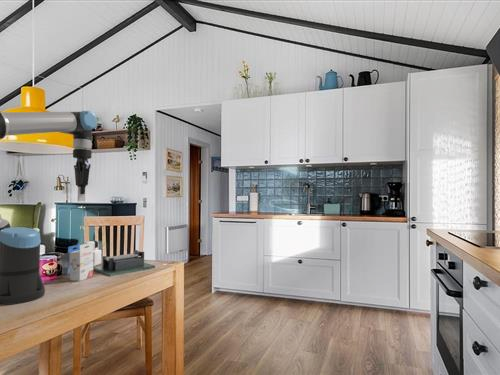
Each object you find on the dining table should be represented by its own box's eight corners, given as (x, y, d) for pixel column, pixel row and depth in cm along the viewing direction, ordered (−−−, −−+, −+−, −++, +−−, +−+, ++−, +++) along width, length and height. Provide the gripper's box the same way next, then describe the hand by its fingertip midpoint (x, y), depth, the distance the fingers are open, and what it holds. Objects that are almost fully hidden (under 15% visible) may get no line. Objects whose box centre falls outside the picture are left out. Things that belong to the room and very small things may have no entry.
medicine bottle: (87, 263, 168) (88, 240, 169) (101, 263, 168) (101, 240, 169) (80, 266, 161) (80, 241, 162) (94, 266, 161) (94, 242, 161)
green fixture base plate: (110, 276, 142) (110, 258, 142) (92, 269, 154) (93, 253, 154) (155, 268, 158) (155, 252, 158) (136, 262, 170) (136, 248, 170)
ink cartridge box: (83, 275, 142) (84, 241, 143) (93, 276, 141) (94, 242, 142) (68, 280, 134) (69, 244, 134) (79, 281, 133) (80, 245, 133)
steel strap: (108, 261, 148) (108, 257, 148) (104, 260, 151) (104, 255, 151) (142, 256, 161) (142, 252, 161) (137, 255, 164) (137, 251, 164)
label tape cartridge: (73, 270, 153) (74, 243, 153) (81, 270, 153) (81, 243, 153) (59, 274, 144) (60, 246, 145) (67, 274, 144) (68, 246, 144)
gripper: (96, 149, 147) (95, 201, 146) (85, 151, 155) (84, 201, 155) (79, 147, 141) (78, 201, 140) (68, 149, 150) (67, 201, 149)
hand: (81, 201), depth 148 cm, fingers closed
